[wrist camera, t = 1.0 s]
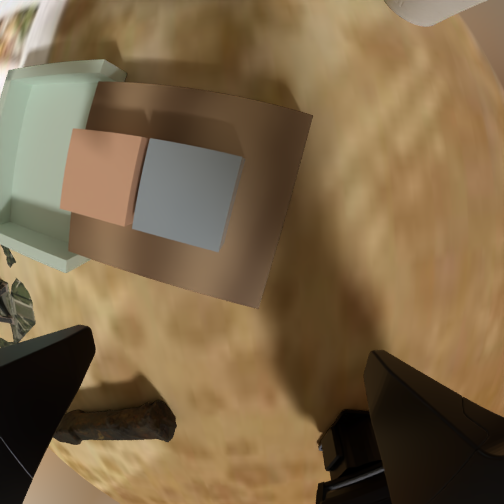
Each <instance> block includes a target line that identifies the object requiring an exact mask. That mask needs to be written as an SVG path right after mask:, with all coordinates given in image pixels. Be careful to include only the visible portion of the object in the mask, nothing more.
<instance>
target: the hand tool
mask: <svg viewBox="0 0 504 504" xmlns="http://www.w3.org/2000/svg"><path fill="white" fill-rule="evenodd" d="M175 420H176V418H175V416H174V415H173V414H172V412H171V410H170V409H169V408H168V407H167V405H166V404H164V403H163V402H162V401H160V400H157V401H156V402H154V403H153V405H152V404H150V403H146V404H145V405H143V406H141V407H138V408H129V409H123V410H116V411H113V410H109V411H104V412H103V411H101V412H93V413H84V412H83V411H81V410H75V411H72V412H69V413H67V414H65V415H64V417H63V419H62V420H61V422H60V424H59V426H58V428H57V430H56V432H55V434H54V436H53V438H55V439H56V440H58V441H60V442H66V443H70V444H73V445H78V444H80V443H81V441H82V440H144V439H159V440H163V441H165V442H169V441H170V440H171V439H172V438H173V435H174V432H175V429H176V427H177V425H176V422H175Z"/></svg>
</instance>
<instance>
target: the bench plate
mask: <svg viewBox="0 0 504 504" xmlns="http://www.w3.org/2000/svg"><path fill="white" fill-rule="evenodd" d="M312 118H313V115H310V114H307V113H303V112H300V111H296V110H293V109H289V108H285V107H281V106H278V105H274V104H270V103H265V102H261V101H257V100H252V99H248V98H243V97H238V96H233V95H228V94H223V93H217V92H211V91H205V90H199V89H192V88H184V87H176V86H168V85H158V84H146V83H132V82H107V81H99V82H98V85H97V88H96V91H95V94H94V98H93V101H92V105H91V108H90V112H89V116H88V120H87V124H86V128H85V129H86V130H95V131H104V132H112V133H119V134H126V135H133V136H140V137H145V138H148V139H150V138H152V139H158V140H164V141H170V142H175V143H180V144H186V145H191V146H196V147H201V148H205V149H210V150H215V151H219V152H224V153H228V154H232V155H236V156H241V157H243V158H245V163H244V167H243V170H242V174H241V178H240V182H239V186H238V190H237V194H236V198H235V202H234V205H233V209H232V213H231V217H230V221H229V226H228V230H227V234H226V238H225V242H224V244H223V246H222V248H221V249H220V251H219V252H215V251H212V250H208V249H204V248H200V247H197V246H193V245H189V244H186V243H182V242H178V241H175V240H171V239H167V238H164V237H160V236H156V235H153V234H149V233H145V232H142V231H138V230H135V229H132V225H133V223H132V224H130V225H127V226H125V227H124V226H120V225H117V224H113V223H109V222H106V221H102V220H99V219H95V218H91V217H88V216H84V215H81V214H77V213H74V212H71V219H70V230H69V245H68V251H69V252H72V253H75V254H78V255H81V256H83V257H86V258H89V259H92V260H95V261H98V262H101V263H104V264H107V265H110V266H113V267H116V268H119V269H122V270H125V271H128V272H131V273H134V274H137V275H140V276H144V277H147V278H150V279H153V280H156V281H160V282H163V283H166V284H170V285H173V286H176V287H180V288H183V289H187V290H190V291H193V292H197V293H200V294H204V295H208V296H211V297H215V298H218V299H222V300H226V301H229V302H233V303H237V304H241V305H245V306H248V307H252V308H256V309H259V306H260V302H261V299H262V296H263V292H264V289H265V286H266V282H267V279H268V276H269V272H270V269H271V265H272V262H273V259H274V255H275V252H276V248H277V245H278V241H279V238H280V234H281V231H282V227H283V224H284V220H285V217H286V213H287V210H288V206H289V203H290V199H291V196H292V192H293V188H294V185H295V181H296V177H297V174H298V170H299V166H300V163H301V159H302V155H303V152H304V148H305V144H306V140H307V137H308V133H309V129H310V125H311V121H312Z"/></svg>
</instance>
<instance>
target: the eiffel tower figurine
mask: <svg viewBox="0 0 504 504" xmlns="http://www.w3.org/2000/svg"><path fill="white" fill-rule="evenodd" d="M1 246H2V248H3V250H4V253H5V255H6V256H7V264H8V265H9V267H10V268H11V266H12V264H13V263H16V261H15V259H14V258H13V256H12V254H11V253H10V251H9V249H8V248H7V247H5V246H3V245H1ZM0 322H5V323H10V324H11V327H12V332H13V339H14V342H7V341H5V340H4V339H2V338H0V347H1V348H3V347H6V346H10V345H13V344H17V343H19V341H20V340H21V339H22V338H23V337H24V336H25V334H26V333H27V332H28V331H29V330H30V329H31V328H32V327H33V326H34V325H35V316H34V311H33V303H32V300H31V297H30V295H29V293H28V291H27V290H26V288H25V287H24V285H23V283H21V282H20V281H19V280H18V279H17V278H16V280H15V281H14V283H13V284H12V288H11V294H10V293H9V287H8V283H7V282H5V281H2V280H0Z"/></svg>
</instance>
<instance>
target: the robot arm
mask: <svg viewBox="0 0 504 504" xmlns="http://www.w3.org/2000/svg"><path fill="white" fill-rule="evenodd" d="M95 350H96V349H95V343H94V339H93V335H92V330H91V328H90V327H88V326H84V325H76V326H73V327H70V328H67V329H63V330H60V331H57V332H53V333H50V334H47V335H43V336H40V337H37V338H33V339H30V340H27V341H23V342H20V343H17V344H13V345H10V346H6V347H3V348H0V504H22V503H23V501H24V498H25V496H26V494H27V491H28V489H29V487H30V484H31V482H32V480H33V479H32V478H33V477H34V475H35V473H36V471H37V468H38V466H39V464H40V462H41V460H42V458H43V456H44V453H45V452H46V450H47V448H48V446H49V444H50V442H51V440H52V438H53V436H54V434H55V432H56V430H57V428H58V426H59V424H60V422H61V420H62V419H63V417H64V415H65V413H66V411H67V409H68V408H69V406H70V404H71V402H72V400H73V399H74V397H75V395H76V393H77V391H78V390H79V388H80V386H81V384H82V381H83V379H84V377H85V375H86V372H87V370H88V368H89V366H90V363H91V361H92V359H93V357H94V355H95ZM364 382H365V388H366V394H367V400H368V406H369V411H357V410H344V411H342V412H341V413H340V415H339V416H338V418H337V419H336V421H335V422H334V424H333V425H332V426H331V427H330V429H329V430H328V432H327V433H326V434H325V436H324V437H323V439H322V440H321V443H320V444H319V446H318V448H319V450H320V451H323V458H324V465H325V470H326V471H330V476H331V481H328V482H322V483H318V490H317V495H316V504H504V417H502V416H500V415H497V414H495V413H493V412H491V411H489V410H487V409H485V408H483V407H481V406H479V405H477V404H475V403H474V402H472V401H470V400H468V399H467V398H465V397H463V398H462V396H461V395H459V394H458V393H456V392H454V391H453V390H451V389H449V388H447V387H446V386H444V385H442V384H440V383H439V382H437V381H435V380H434V379H432V378H430V377H428V376H427V375H425V374H423V373H422V372H420V371H418V370H416V369H415V368H413V367H411V366H410V365H408V364H406V363H405V362H403V361H401V360H400V359H398V358H396V357H394V356H393V355H391V354H389V353H388V352H386V351H384V350H373V351H371V352H370V354H369V357H368V360H367V364H366V367H365V371H364Z"/></svg>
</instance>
